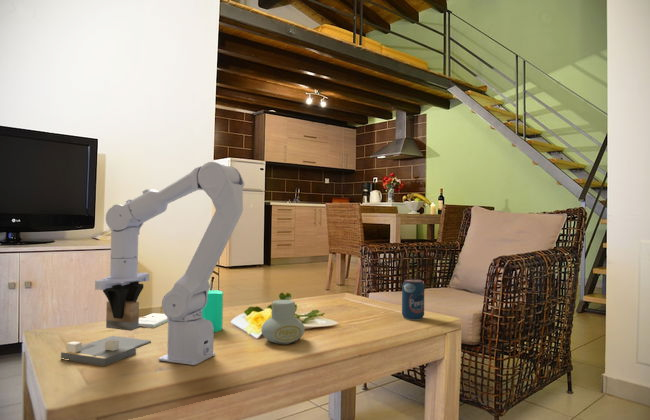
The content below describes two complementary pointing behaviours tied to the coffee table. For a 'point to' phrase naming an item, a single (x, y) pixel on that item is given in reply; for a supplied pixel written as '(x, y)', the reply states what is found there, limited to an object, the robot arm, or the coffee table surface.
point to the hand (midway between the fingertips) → (123, 316)
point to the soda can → (413, 299)
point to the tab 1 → (74, 346)
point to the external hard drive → (152, 320)
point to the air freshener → (283, 323)
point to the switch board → (99, 354)
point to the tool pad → (126, 341)
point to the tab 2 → (111, 345)
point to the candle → (214, 309)
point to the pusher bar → (124, 317)
